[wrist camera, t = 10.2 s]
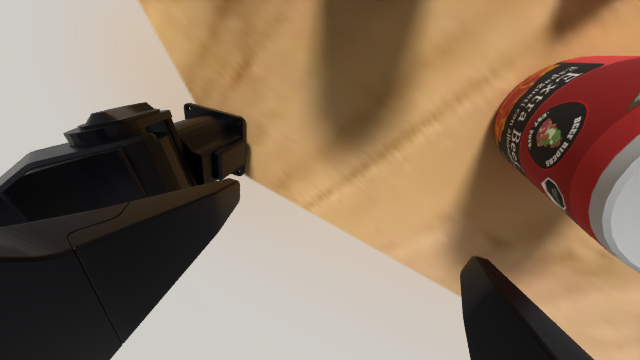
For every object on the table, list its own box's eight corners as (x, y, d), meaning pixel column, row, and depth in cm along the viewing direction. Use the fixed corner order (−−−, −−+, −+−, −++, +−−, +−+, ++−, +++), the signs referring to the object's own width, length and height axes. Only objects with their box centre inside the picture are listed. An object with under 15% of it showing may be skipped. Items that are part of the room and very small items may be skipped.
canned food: (524, 46, 15) (748, 31, 6) (675, 67, 14) (1302, 93, 4) (470, 155, 19) (549, 255, 9) (584, 179, 17) (808, 324, 8)
